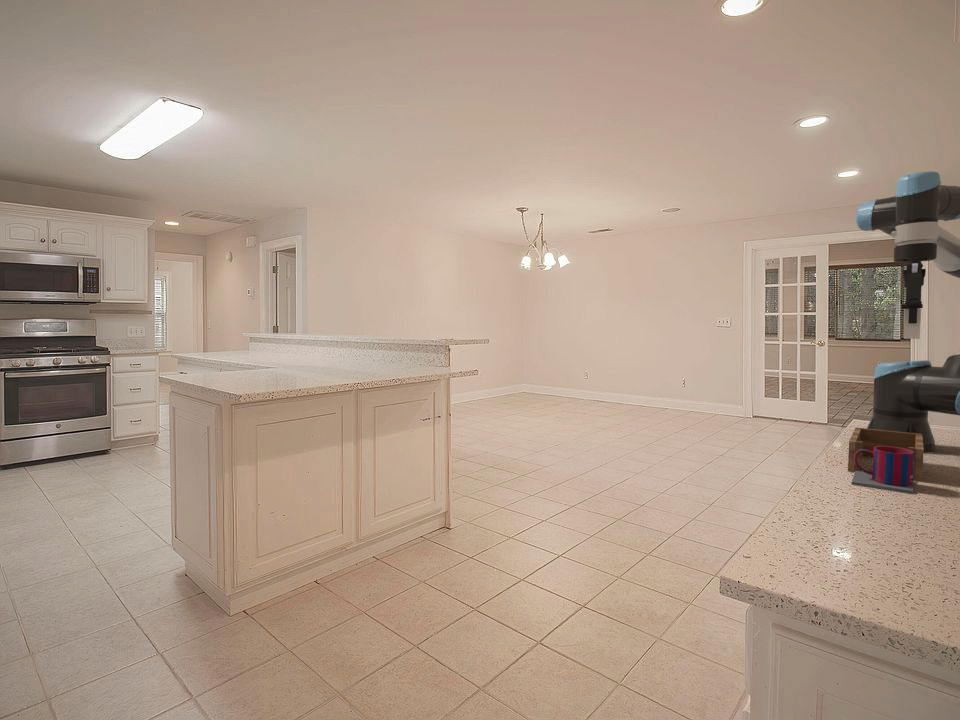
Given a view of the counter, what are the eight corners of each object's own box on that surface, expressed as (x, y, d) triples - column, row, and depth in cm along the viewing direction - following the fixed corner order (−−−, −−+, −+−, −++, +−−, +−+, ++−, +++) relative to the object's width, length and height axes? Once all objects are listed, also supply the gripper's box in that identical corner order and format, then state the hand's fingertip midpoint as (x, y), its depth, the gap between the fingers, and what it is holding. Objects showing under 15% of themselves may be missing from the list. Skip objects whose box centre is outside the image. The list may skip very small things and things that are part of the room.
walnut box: (854, 454, 134) (855, 427, 134) (920, 462, 126) (922, 433, 125) (847, 471, 120) (849, 441, 119) (922, 481, 112) (923, 449, 111)
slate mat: (855, 473, 118) (855, 470, 118) (912, 481, 112) (912, 478, 112) (851, 484, 110) (851, 481, 110) (912, 493, 104) (913, 491, 104)
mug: (913, 488, 105) (915, 455, 105) (852, 479, 112) (854, 448, 111) (911, 480, 111) (913, 448, 110) (853, 472, 117) (855, 442, 116)
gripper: (894, 250, 131) (891, 334, 133) (893, 240, 112) (889, 339, 113) (934, 246, 126) (930, 334, 128) (940, 236, 107) (935, 340, 109)
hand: (911, 337), depth 121 cm, fingers open, 13 cm apart
